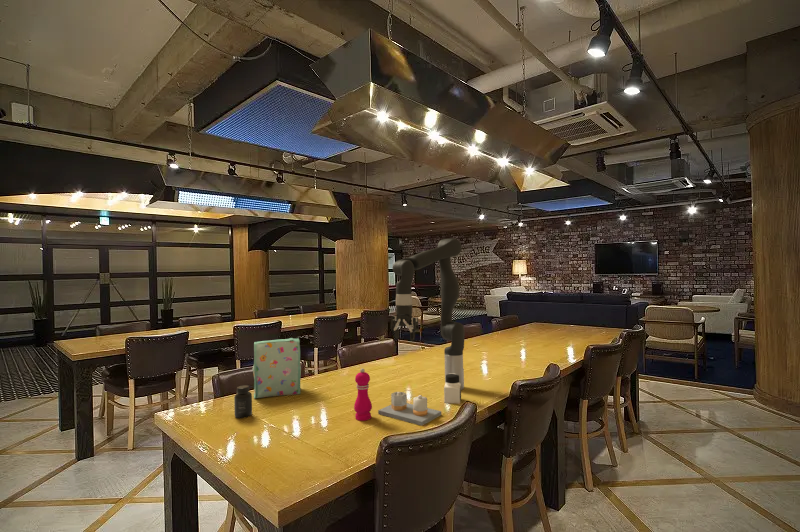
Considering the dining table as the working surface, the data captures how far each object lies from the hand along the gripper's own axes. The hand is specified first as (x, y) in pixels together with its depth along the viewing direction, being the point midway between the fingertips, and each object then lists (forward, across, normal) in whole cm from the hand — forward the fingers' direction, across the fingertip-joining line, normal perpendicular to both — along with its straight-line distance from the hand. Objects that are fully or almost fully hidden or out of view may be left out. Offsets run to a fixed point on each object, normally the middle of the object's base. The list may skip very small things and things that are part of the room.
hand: (404, 339), depth 178 cm
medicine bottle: (+28, -17, -13) cm, 35 cm away
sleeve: (+27, -6, +12) cm, 30 cm away
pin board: (+28, -11, +12) cm, 32 cm away
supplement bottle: (+28, +45, +53) cm, 75 cm away
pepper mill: (+28, +2, +26) cm, 38 cm away
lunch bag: (+28, +60, +26) cm, 71 cm away
